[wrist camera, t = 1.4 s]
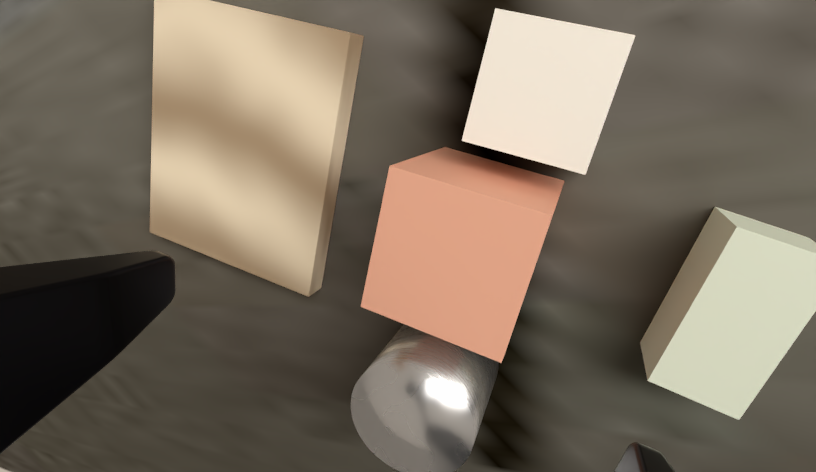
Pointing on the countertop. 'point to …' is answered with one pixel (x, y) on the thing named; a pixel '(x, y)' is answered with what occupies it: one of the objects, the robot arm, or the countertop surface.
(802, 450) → the countertop surface
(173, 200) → the birch board
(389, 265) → the terracotta block
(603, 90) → the cream cube
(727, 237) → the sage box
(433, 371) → the grey cylinder
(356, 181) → the countertop surface
